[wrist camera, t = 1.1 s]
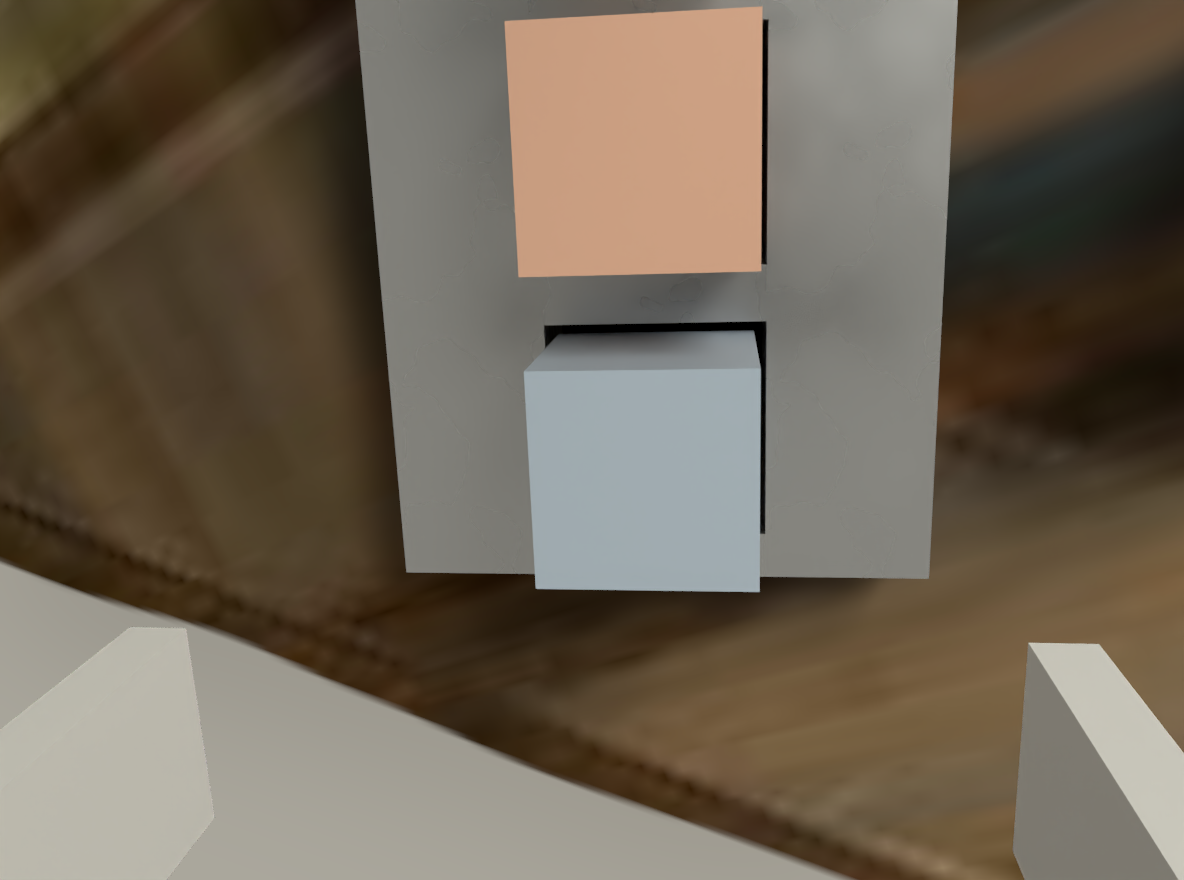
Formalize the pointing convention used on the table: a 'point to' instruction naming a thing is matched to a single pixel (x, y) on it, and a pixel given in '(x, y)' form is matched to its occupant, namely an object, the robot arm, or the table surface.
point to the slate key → (646, 461)
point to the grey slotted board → (674, 277)
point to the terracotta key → (637, 142)
